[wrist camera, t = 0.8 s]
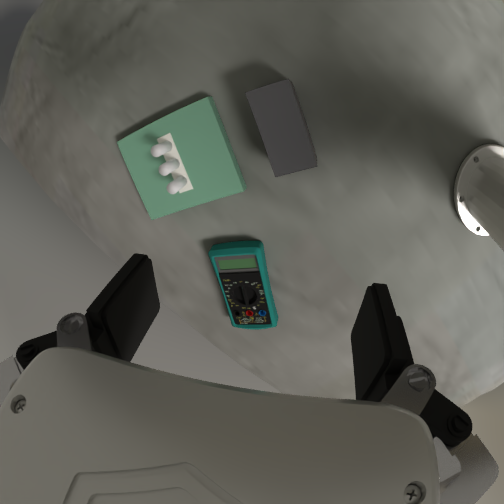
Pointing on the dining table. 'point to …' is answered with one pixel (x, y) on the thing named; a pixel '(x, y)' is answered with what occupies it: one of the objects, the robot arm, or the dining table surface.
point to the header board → (182, 160)
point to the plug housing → (282, 127)
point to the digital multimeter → (245, 283)
